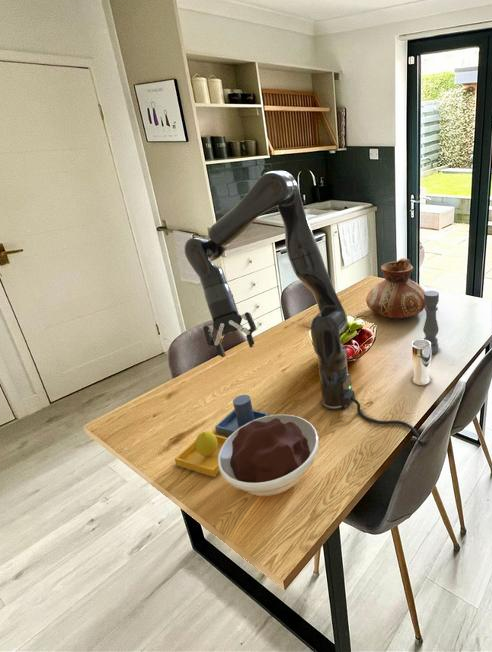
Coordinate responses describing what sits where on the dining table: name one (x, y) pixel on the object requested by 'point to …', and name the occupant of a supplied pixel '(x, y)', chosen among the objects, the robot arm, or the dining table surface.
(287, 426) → the white serving bowl
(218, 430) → the blue tray
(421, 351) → the silver metal cylinder
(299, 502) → the dining table surface
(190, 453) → the yellow tray
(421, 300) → the painted clay pot
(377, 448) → the dining table surface
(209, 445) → the lemon
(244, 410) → the blue cylinder
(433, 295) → the grey pepper mill
